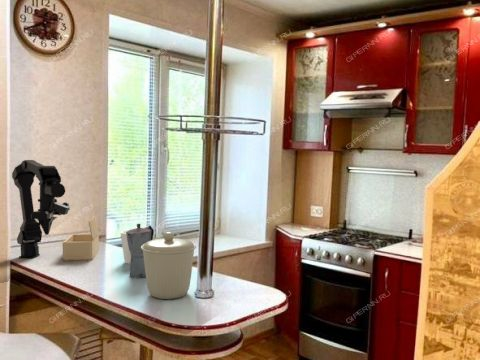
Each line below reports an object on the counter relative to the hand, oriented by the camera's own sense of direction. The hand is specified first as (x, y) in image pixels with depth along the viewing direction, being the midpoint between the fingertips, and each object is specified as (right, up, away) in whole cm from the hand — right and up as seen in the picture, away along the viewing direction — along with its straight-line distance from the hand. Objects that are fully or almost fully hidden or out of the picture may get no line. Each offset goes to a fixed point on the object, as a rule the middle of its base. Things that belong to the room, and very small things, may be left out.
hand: (46, 234), depth 186 cm
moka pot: (+41, -14, -10) cm, 45 cm away
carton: (+8, -12, +19) cm, 24 cm away
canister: (+55, -16, -34) cm, 67 cm away
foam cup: (+33, -13, +9) cm, 36 cm away
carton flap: (+13, +1, +19) cm, 23 cm away
